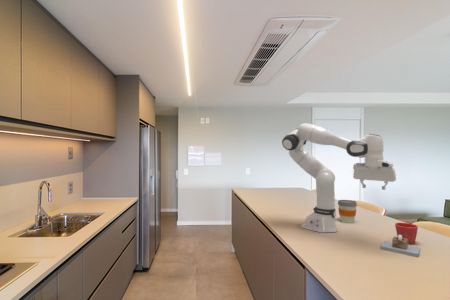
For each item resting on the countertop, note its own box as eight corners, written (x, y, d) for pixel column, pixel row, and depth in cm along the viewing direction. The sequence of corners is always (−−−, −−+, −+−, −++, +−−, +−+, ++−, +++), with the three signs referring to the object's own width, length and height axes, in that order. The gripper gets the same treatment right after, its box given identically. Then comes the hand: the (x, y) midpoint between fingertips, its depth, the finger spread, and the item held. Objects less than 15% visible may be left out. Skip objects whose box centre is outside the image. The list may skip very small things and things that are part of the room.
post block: (380, 248, 135) (380, 234, 135) (384, 243, 144) (384, 229, 144) (418, 257, 124) (418, 241, 124) (420, 250, 133) (420, 235, 134)
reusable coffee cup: (360, 224, 183) (360, 203, 183) (342, 223, 183) (342, 202, 183) (351, 219, 195) (351, 199, 196) (335, 219, 196) (335, 199, 196)
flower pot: (390, 239, 149) (390, 223, 150) (403, 237, 153) (403, 221, 153) (409, 246, 139) (409, 228, 140) (422, 243, 143) (422, 226, 143)
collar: (392, 246, 134) (392, 239, 134) (394, 243, 138) (394, 236, 138) (406, 249, 130) (406, 241, 130) (407, 246, 134) (407, 239, 134)
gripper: (351, 162, 145) (351, 187, 145) (394, 164, 132) (394, 191, 132) (354, 162, 150) (354, 186, 150) (396, 164, 137) (396, 190, 137)
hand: (373, 188), depth 141 cm, fingers open, 8 cm apart
